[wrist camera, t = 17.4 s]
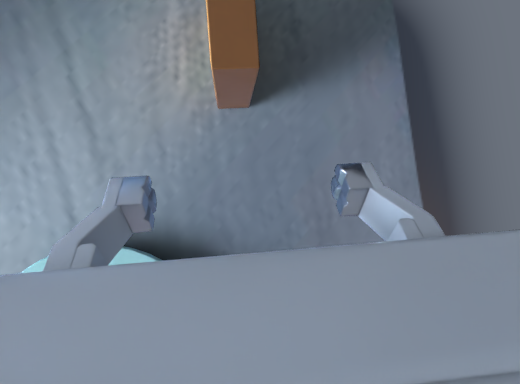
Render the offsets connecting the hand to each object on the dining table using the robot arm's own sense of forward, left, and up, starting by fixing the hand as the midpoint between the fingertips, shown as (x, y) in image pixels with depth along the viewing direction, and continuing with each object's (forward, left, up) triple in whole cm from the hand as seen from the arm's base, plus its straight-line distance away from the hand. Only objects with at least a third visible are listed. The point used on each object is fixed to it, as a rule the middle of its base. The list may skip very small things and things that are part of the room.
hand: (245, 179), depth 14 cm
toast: (-4, +9, -10) cm, 14 cm away
